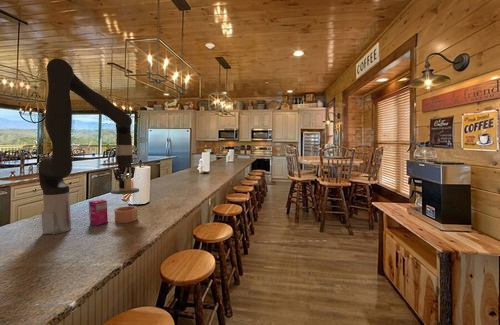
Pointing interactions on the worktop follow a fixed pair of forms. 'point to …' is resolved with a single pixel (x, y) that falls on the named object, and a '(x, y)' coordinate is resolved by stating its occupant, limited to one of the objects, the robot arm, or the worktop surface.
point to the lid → (125, 188)
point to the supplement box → (98, 212)
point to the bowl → (125, 214)
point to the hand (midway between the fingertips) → (125, 187)
